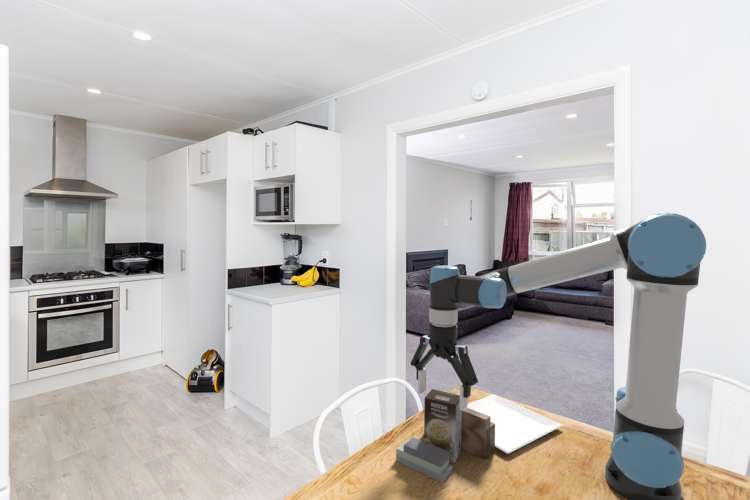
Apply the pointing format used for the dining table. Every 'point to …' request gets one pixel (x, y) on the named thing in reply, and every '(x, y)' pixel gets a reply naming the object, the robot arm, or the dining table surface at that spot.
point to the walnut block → (477, 433)
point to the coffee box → (443, 422)
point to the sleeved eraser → (425, 458)
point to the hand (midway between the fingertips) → (441, 399)
